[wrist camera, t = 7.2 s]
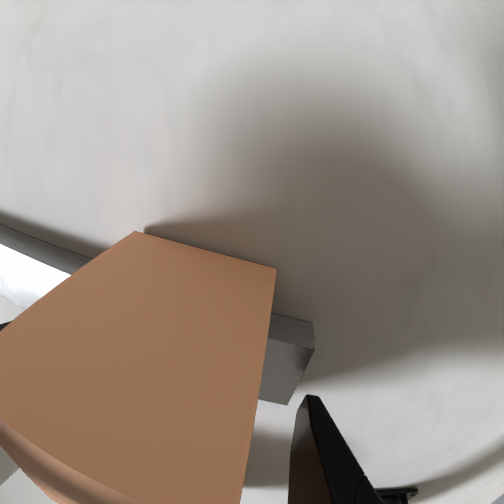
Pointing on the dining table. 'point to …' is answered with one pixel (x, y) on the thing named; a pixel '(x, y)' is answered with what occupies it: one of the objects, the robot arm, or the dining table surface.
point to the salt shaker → (6, 466)
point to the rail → (66, 263)
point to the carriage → (139, 376)
